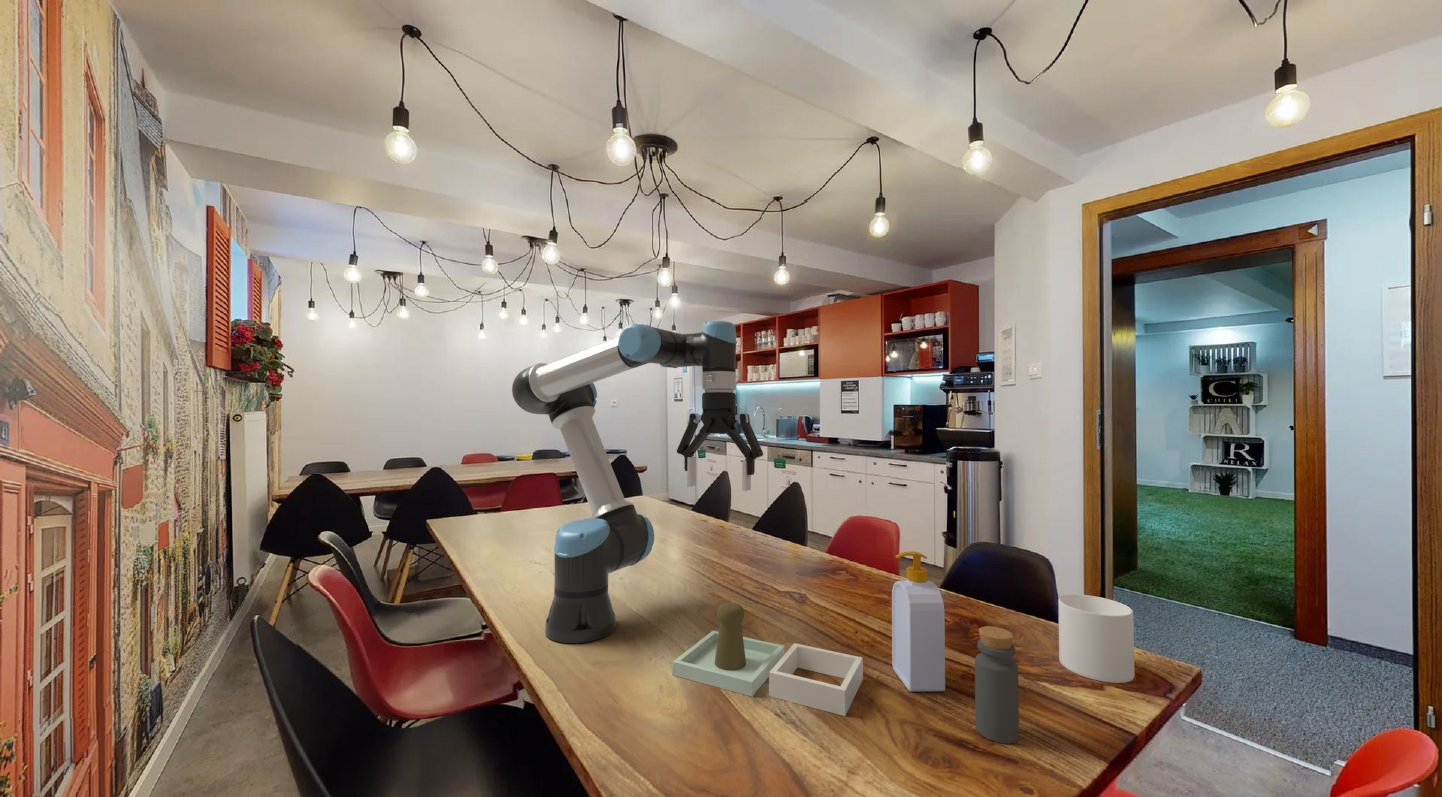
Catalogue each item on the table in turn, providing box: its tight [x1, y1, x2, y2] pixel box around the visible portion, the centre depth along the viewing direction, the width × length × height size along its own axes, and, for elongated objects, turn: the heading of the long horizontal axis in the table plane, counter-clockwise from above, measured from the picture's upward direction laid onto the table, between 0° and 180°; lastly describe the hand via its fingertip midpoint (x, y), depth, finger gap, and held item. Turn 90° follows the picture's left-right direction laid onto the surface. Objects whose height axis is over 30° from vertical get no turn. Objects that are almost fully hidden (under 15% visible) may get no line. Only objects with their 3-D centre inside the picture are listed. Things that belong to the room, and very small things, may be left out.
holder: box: [768, 643, 864, 717], centre depth 93 cm, size 13×13×4 cm
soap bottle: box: [891, 550, 946, 692], centre depth 96 cm, size 9×7×23 cm
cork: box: [715, 602, 746, 671], centre depth 101 cm, size 6×6×11 cm
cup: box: [1058, 593, 1135, 684], centre depth 101 cm, size 12×12×12 cm
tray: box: [671, 629, 786, 697], centre depth 101 cm, size 16×16×2 cm
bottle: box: [974, 625, 1020, 745], centre depth 80 cm, size 6×6×15 cm
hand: (718, 488), depth 116 cm, fingers open, 13 cm apart
